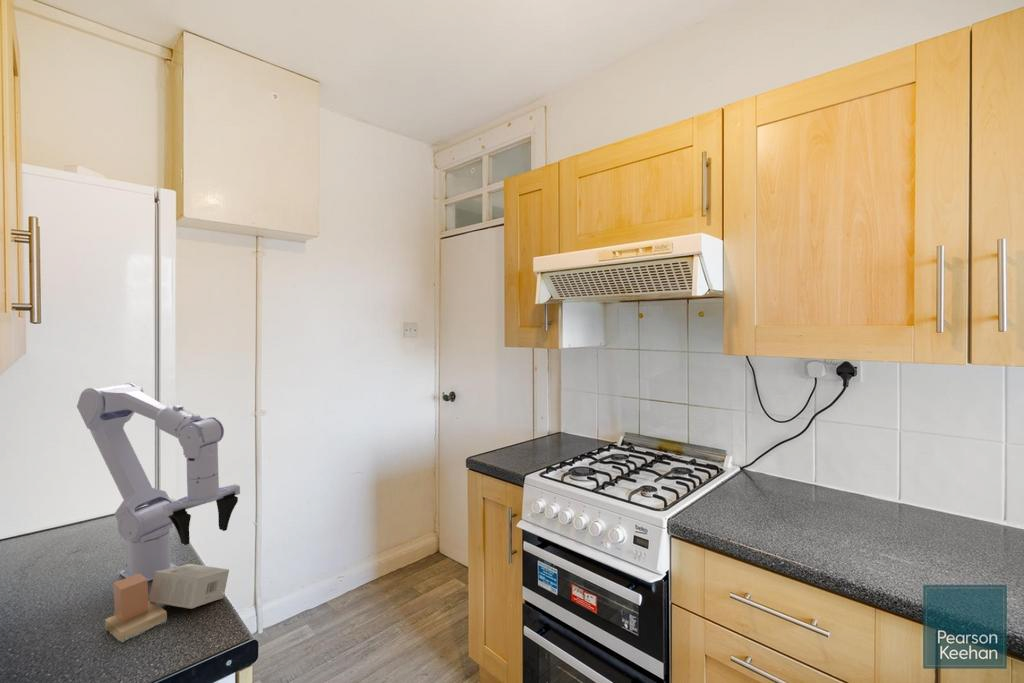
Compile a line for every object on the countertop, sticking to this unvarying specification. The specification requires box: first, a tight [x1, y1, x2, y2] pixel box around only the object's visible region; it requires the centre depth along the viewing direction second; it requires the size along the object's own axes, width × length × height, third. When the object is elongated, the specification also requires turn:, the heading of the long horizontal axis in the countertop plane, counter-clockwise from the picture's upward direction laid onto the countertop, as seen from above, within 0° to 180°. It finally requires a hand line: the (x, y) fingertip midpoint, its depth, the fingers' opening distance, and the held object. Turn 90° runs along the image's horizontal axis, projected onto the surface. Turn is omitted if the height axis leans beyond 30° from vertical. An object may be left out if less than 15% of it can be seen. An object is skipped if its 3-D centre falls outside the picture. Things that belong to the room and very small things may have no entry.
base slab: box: [104, 602, 168, 641], centre depth 86 cm, size 7×7×2 cm
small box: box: [148, 563, 230, 610], centre depth 93 cm, size 8×6×10 cm
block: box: [112, 573, 149, 622], centre depth 87 cm, size 4×4×6 cm
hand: (204, 536), depth 101 cm, fingers open, 7 cm apart
